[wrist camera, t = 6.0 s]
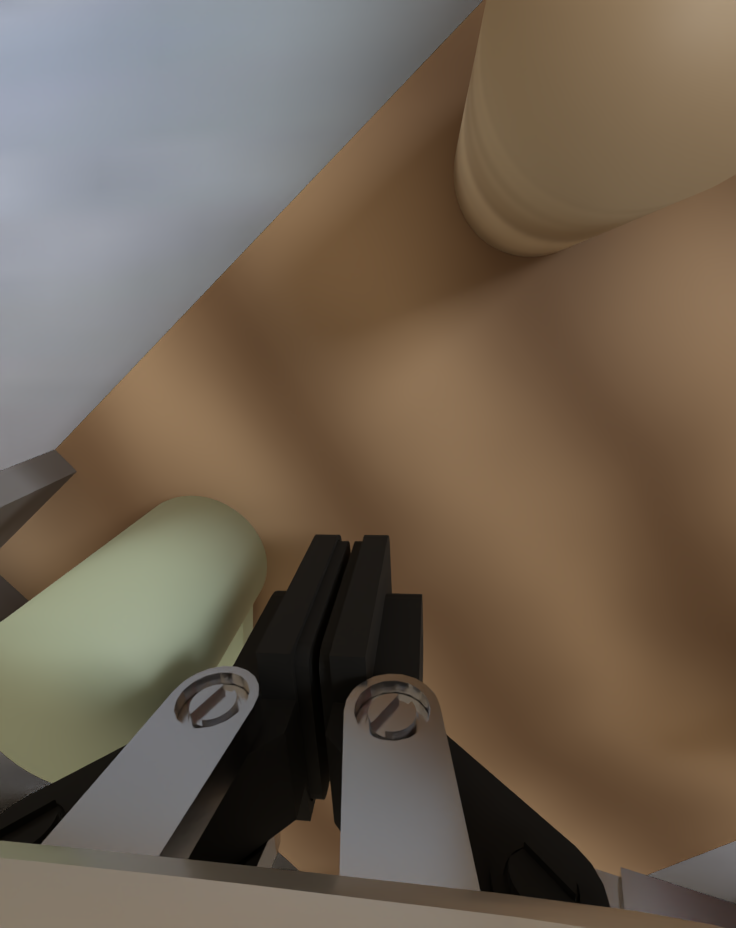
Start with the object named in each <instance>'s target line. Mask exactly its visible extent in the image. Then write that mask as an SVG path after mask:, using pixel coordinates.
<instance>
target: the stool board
mask: <svg viewBox="0 0 736 928" xmlns="http://www.w3.org/2000/svg"><path fill="white" fill-rule="evenodd" d="M181 496H201V497H207V498H211V499H214V500H217V501H219V502H222V503H224V504H226V505H228V506H230V507H231V508H233V509H234V510H236V511H237V512H238V513H240V514H241V515H242V516H243V517H244V518H245V519H246V520H247V521H248V522H249V523H250V524H251V525H252V526H253V528H254V529H255V531H256V532H257V534H258V535H259V537H260V539H261V541H262V543H263V546H264V549H265V553H266V558H267V575H266V579H265V583H264V585H263V588H262V590H261V591H260V593H259V595H258V597H257V598H256V600H255V602H254V604H253V628H254V626H255V625H256V623H257V621H258V619H259V617H260V616H261V614H262V612H263V610H264V608H265V606H266V605H267V603H268V601H269V599H270V597H271V596H272V594H273V593H274V592H275V591H287V589H288V587H289V585H290V583H291V581H292V579H293V577H294V575H295V573H296V571H297V569H298V567H299V565H300V563H301V561H302V559H303V558H304V556H305V554H306V552H307V550H308V548H309V546H310V544H311V542H312V540H313V538H314V536H315V535H316V534H322V535H340V536H341V539H342V541H349V542H350V549H351V551H352V548H353V545H354V542H355V541H363V537H364V535H389V539H390V558H391V582H392V593H400V594H422V600H423V683H424V684H426V685H427V686H428V687H429V688H430V689H431V690H432V691H433V692H434V693H435V695H436V697H437V699H438V702H439V704H440V707H441V712H442V716H443V721H444V726H445V730H446V734H447V735H448V736H449V737H450V738H451V739H452V740H453V741H455V742H456V743H457V744H458V745H459V746H460V747H462V748H463V749H464V750H465V751H466V752H467V753H468V754H470V755H471V756H472V757H473V758H474V759H475V760H477V761H478V762H479V763H480V764H481V765H482V766H484V767H485V768H486V769H487V770H488V771H489V772H490V773H492V774H493V775H494V776H495V777H496V778H497V779H499V780H500V781H501V782H502V783H503V784H504V785H505V786H507V787H508V788H509V789H510V790H511V791H512V792H514V793H515V794H516V795H517V796H518V797H519V798H521V799H522V800H523V801H524V802H525V803H526V804H527V805H529V806H530V807H531V808H532V809H533V810H534V811H536V812H537V813H538V814H539V815H540V816H541V817H542V818H544V819H545V820H546V821H547V822H548V823H549V824H551V825H552V826H553V827H554V828H555V829H556V830H557V831H559V832H560V833H561V834H562V835H563V836H564V837H566V838H567V839H568V840H569V841H570V842H571V843H573V844H574V845H575V846H576V847H577V848H578V849H579V850H580V852H581V853H582V854H583V855H584V856H585V857H586V858H587V859H588V860H589V861H590V862H591V864H592V865H593V867H594V868H595V869H598V870H601V871H604V872H607V873H610V874H613V875H616V876H619V873H620V867H622V868H625V869H629V870H632V871H635V872H638V873H641V874H644V875H649V874H651V873H654V872H656V871H659V870H661V869H664V868H667V867H669V866H672V865H674V864H677V863H679V862H682V861H685V860H687V859H690V858H692V857H695V856H698V855H700V854H703V853H705V852H708V851H710V850H713V849H716V848H718V847H721V846H723V845H726V844H728V843H731V842H734V841H736V0H483V1H482V2H481V3H480V4H479V5H478V6H477V7H476V8H475V9H474V11H473V12H472V13H471V14H470V15H469V16H468V17H467V18H466V19H465V20H464V21H463V22H462V23H461V24H460V25H459V26H458V27H457V28H456V29H455V30H454V32H453V33H452V34H451V35H450V36H449V37H448V38H447V39H446V40H445V41H444V42H443V43H442V44H441V45H440V46H439V47H438V48H437V49H436V50H435V51H434V53H433V54H432V55H431V56H430V57H429V58H428V59H427V60H426V61H425V62H424V63H423V64H422V65H421V66H420V67H419V68H418V69H417V70H416V71H415V72H414V74H413V75H412V76H411V77H410V78H409V79H408V80H407V81H406V82H405V83H404V84H403V85H402V86H401V87H400V88H399V89H398V90H397V91H396V92H395V93H394V95H393V96H392V97H391V98H390V99H389V100H388V101H387V102H386V103H385V104H384V105H383V106H382V107H381V108H380V109H379V110H378V111H377V112H376V113H375V114H374V116H373V117H372V118H371V119H370V120H369V121H368V122H367V123H366V124H365V125H364V126H363V127H362V128H361V129H360V130H359V131H358V132H357V133H356V134H355V135H354V137H353V138H352V139H351V140H350V141H349V142H348V143H347V144H346V145H345V146H344V147H343V148H342V149H341V150H340V151H339V152H338V153H337V154H336V155H335V156H334V158H333V159H332V160H331V161H330V162H329V163H328V164H327V165H326V166H325V167H324V168H323V169H322V170H321V171H320V172H319V173H318V174H317V175H316V176H315V177H314V179H313V180H312V181H311V182H310V183H309V184H308V185H307V186H306V187H305V188H304V189H303V190H302V191H301V192H300V193H299V194H298V195H297V196H296V197H295V198H294V199H293V201H292V202H291V203H290V204H289V205H288V206H287V207H286V208H285V209H284V210H283V211H282V212H281V213H280V214H279V215H278V216H277V217H276V218H275V219H274V220H273V222H272V223H271V224H270V225H269V226H268V227H267V228H266V229H265V230H264V231H263V232H262V233H261V234H260V235H259V236H258V237H257V238H256V239H255V240H254V241H253V243H252V244H251V245H250V246H249V247H248V248H247V249H246V250H245V251H244V252H243V253H242V254H241V255H240V256H239V257H238V258H237V259H236V260H235V261H234V262H233V264H232V265H231V266H230V267H229V268H228V269H227V270H226V271H225V272H224V273H223V274H222V275H221V276H220V277H219V278H218V279H217V280H216V281H215V282H214V283H213V285H212V286H211V287H210V288H209V289H208V290H207V291H206V292H205V293H204V294H203V295H202V296H201V297H200V298H199V299H198V300H197V301H196V302H195V303H194V304H193V306H192V307H191V308H190V309H189V310H188V311H187V312H186V313H185V314H184V315H183V316H182V317H181V318H180V319H179V320H178V321H177V322H176V323H175V324H174V325H173V327H172V328H171V329H170V330H169V331H168V332H167V333H166V334H165V335H164V336H163V337H162V338H161V339H160V340H159V341H158V342H157V343H156V344H155V345H154V346H153V348H152V349H151V350H150V351H149V352H148V353H147V354H146V355H145V356H144V357H143V358H142V359H141V360H140V361H139V362H138V363H137V364H136V365H135V366H134V367H133V369H132V370H131V371H130V372H129V373H128V374H127V375H126V376H125V377H124V378H123V379H122V380H121V381H120V382H119V383H118V384H117V385H116V386H115V387H114V388H113V390H112V391H111V392H110V393H109V394H108V395H107V396H106V397H105V398H104V399H103V400H102V401H101V402H100V403H99V404H98V405H97V406H96V407H95V408H94V409H93V411H92V412H91V413H90V414H89V415H88V416H87V417H86V418H85V419H84V420H83V421H82V422H81V423H80V424H79V425H78V426H77V427H76V428H75V429H74V430H73V432H72V433H71V434H70V435H69V436H68V437H67V438H66V439H65V440H64V441H63V442H62V443H61V444H60V445H59V446H58V447H57V448H56V449H55V450H53V451H50V452H48V453H45V454H43V455H40V456H37V457H35V458H32V459H30V460H27V461H24V462H22V463H19V464H17V465H14V466H11V467H9V468H6V469H4V470H1V471H0V622H1V621H3V620H4V619H6V618H7V617H8V616H10V615H11V614H12V613H14V612H15V611H16V610H18V609H19V608H20V607H22V606H23V605H24V604H26V603H27V602H28V601H30V600H31V599H32V598H34V597H35V596H36V595H38V594H39V593H41V592H42V591H43V590H45V589H46V588H47V587H49V586H50V585H51V584H53V583H54V582H55V581H57V580H58V579H59V578H61V577H62V576H63V575H65V574H66V573H67V572H69V571H70V570H72V569H73V568H74V567H76V566H77V565H78V564H80V563H81V562H82V561H84V560H85V559H86V558H88V557H89V556H90V555H92V554H93V553H94V552H96V551H97V550H98V549H100V548H101V547H103V546H104V545H105V544H107V543H108V542H109V541H111V540H112V539H113V538H115V537H116V536H117V535H119V534H120V533H121V532H123V531H124V530H125V529H127V528H128V527H129V526H131V525H132V524H134V523H135V522H136V521H138V520H139V519H140V518H142V517H143V516H144V515H146V514H147V513H148V512H150V511H151V510H152V509H154V508H155V507H156V506H158V505H159V504H161V503H163V502H165V501H167V500H170V499H172V498H176V497H181ZM340 836H341V831H340V830H339V829H338V827H337V826H336V825H335V823H334V815H333V805H332V795H331V786H330V782H329V787H328V792H327V796H326V798H325V799H324V800H321V799H316V800H315V804H314V808H313V813H312V817H311V821H301V820H295V821H294V822H293V823H291V824H290V825H289V826H287V827H286V828H285V829H283V830H282V831H280V838H281V842H280V845H279V849H278V852H279V853H280V854H281V855H282V856H283V857H285V858H286V859H287V860H288V861H289V862H290V863H291V864H292V865H293V866H295V867H296V868H297V869H298V870H299V871H303V872H313V873H322V874H331V875H339V874H340Z"/></svg>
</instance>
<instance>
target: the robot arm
mask: <svg viewBox="0 0 736 928" xmlns="http://www.w3.org/2000/svg"><path fill="white" fill-rule="evenodd" d="M329 782H330V786H331V795H332V805H333V815H334V823H335V825H336V826H337V827H338V829H339V830H340V831H341V836H340V874H339V875H331V874H322V873H313V872H303V871H294V870H284V869H275V868H272V865H273V863H274V861H275V858H276V856H277V853H278V849H279V845H280V842H281V838H280V831H282V830H283V829H285V828H286V827H287V826H289V825H290V824H291V823H293V822H294V821H295V820H301V821H311V817H312V813H313V808H314V804H315V800H316V799H321V800H324V799H325V798H326V796H327V792H328V787H329ZM0 928H736V904H734V903H731V902H728V901H725V900H722V899H719V898H716V897H712V896H709V895H706V894H703V893H700V892H697V891H694V890H691V889H688V888H684V887H681V886H678V885H675V884H672V883H669V882H666V881H663V880H660V879H657V878H653V877H650V876H647V875H644V874H641V873H638V872H635V871H632V870H629V869H625V868H622V867H620V873H619V876H616V875H613V874H610V873H607V872H604V871H601V870H598V869H595V868H594V867H593V865H592V864H591V862H590V861H589V860H588V859H587V858H586V857H585V856H584V855H583V854H582V853H581V852H580V850H579V849H578V848H577V847H576V846H575V845H574V844H573V843H571V842H570V841H569V840H568V839H567V838H566V837H564V836H563V835H562V834H561V833H560V832H559V831H557V830H556V829H555V828H554V827H553V826H552V825H551V824H549V823H548V822H547V821H546V820H545V819H544V818H542V817H541V816H540V815H539V814H538V813H537V812H536V811H534V810H533V809H532V808H531V807H530V806H529V805H527V804H526V803H525V802H524V801H523V800H522V799H521V798H519V797H518V796H517V795H516V794H515V793H514V792H512V791H511V790H510V789H509V788H508V787H507V786H505V785H504V784H503V783H502V782H501V781H500V780H499V779H497V778H496V777H495V776H494V775H493V774H492V773H490V772H489V771H488V770H487V769H486V768H485V767H484V766H482V765H481V764H480V763H479V762H478V761H477V760H475V759H474V758H473V757H472V756H471V755H470V754H468V753H467V752H466V751H465V750H464V749H463V748H462V747H460V746H459V745H458V744H457V743H456V742H455V741H453V740H452V739H451V738H450V737H449V736H448V735H447V734H446V730H445V726H444V721H443V716H442V712H441V707H440V704H439V702H438V699H437V697H436V695H435V693H434V692H433V691H432V690H431V689H430V688H429V687H428V686H427V685H426V684H424V683H423V600H422V594H400V593H392V582H391V558H390V539H389V535H364V537H363V541H355V542H354V545H353V548H352V551H351V549H350V542H349V541H342V539H341V536H340V535H322V534H316V535H315V536H314V538H313V540H312V542H311V544H310V546H309V548H308V550H307V552H306V554H305V556H304V558H303V559H302V561H301V563H300V565H299V567H298V569H297V571H296V573H295V575H294V577H293V579H292V581H291V583H290V585H289V587H288V589H287V591H275V592H274V593H273V594H272V596H271V597H270V599H269V601H268V603H267V605H266V606H265V608H264V610H263V612H262V614H261V616H260V617H259V619H258V621H257V623H256V625H255V626H254V628H253V630H252V632H251V634H250V636H249V637H248V639H247V641H246V643H245V645H244V646H243V648H242V650H241V652H240V654H239V656H238V657H237V659H236V661H235V663H234V665H233V666H221V667H215V668H210V669H207V670H205V671H202V672H199V673H197V674H195V675H193V676H192V677H190V678H188V679H187V680H185V681H184V682H182V683H181V684H180V685H179V686H178V687H177V688H176V689H175V690H174V691H173V692H172V693H171V694H170V695H169V696H168V698H167V699H166V700H165V701H164V702H163V703H162V705H161V706H160V707H159V708H158V709H157V710H156V712H155V713H154V714H153V715H152V716H151V717H150V718H149V720H148V721H147V722H146V723H145V724H144V725H143V727H142V728H141V729H140V730H139V731H138V732H137V733H136V735H135V736H134V737H133V738H132V739H131V740H130V742H129V743H128V744H127V745H125V746H123V747H121V748H119V749H117V750H115V751H113V752H111V753H109V754H108V755H106V756H104V757H102V758H100V759H98V760H96V761H94V762H92V763H90V764H88V765H86V766H84V767H83V768H81V769H79V770H77V771H75V772H73V773H71V774H69V775H67V776H65V777H63V778H61V779H60V780H58V781H56V782H54V783H52V784H50V785H48V786H46V787H44V788H42V789H40V790H38V791H37V792H35V793H33V794H31V795H29V796H27V797H25V798H24V799H22V800H21V801H19V802H17V803H16V804H14V805H13V806H11V807H9V808H8V809H7V810H5V811H4V812H3V813H2V814H1V815H0Z"/></svg>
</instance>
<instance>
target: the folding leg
mask: <svg viewBox="0 0 736 928" xmlns="http://www.w3.org/2000/svg"><path fill="white" fill-rule="evenodd" d="M266 575H267V558H266V553H265V549H264V546H263V543H262V541H261V539H260V537H259V535H258V534H257V532H256V531H255V529H254V528H253V526H252V525H251V524H250V523H249V522H248V521H247V520H246V519H245V518H244V517H243V516H242V515H241V514H240V513H238V512H237V511H236V510H234V509H233V508H231V507H230V506H228V505H226V504H224V503H222V502H219V501H217V500H214V499H211V498H207V497H201V496H181V497H176V498H172V499H170V500H167V501H165V502H163V503H161V504H159V505H158V506H156V507H155V508H154V509H152V510H151V511H150V512H148V513H147V514H146V515H144V516H143V517H142V518H140V519H139V520H138V521H136V522H135V523H134V524H132V525H131V526H129V527H128V528H127V529H125V530H124V531H123V532H121V533H120V534H119V535H117V536H116V537H115V538H113V539H112V540H111V541H109V542H108V543H107V544H105V545H104V546H103V547H101V548H100V549H98V550H97V551H96V552H94V553H93V554H92V555H90V556H89V557H88V558H86V559H85V560H84V561H82V562H81V563H80V564H78V565H77V566H76V567H74V568H73V569H72V570H70V571H69V572H67V573H66V574H65V575H63V576H62V577H61V578H59V579H58V580H57V581H55V582H54V583H53V584H51V585H50V586H49V587H47V588H46V589H45V590H43V591H42V592H41V593H39V594H38V595H36V596H35V597H34V598H32V599H31V600H30V601H28V602H27V603H26V604H24V605H23V606H22V607H20V608H19V609H18V610H16V611H15V612H14V613H12V614H11V615H10V616H8V617H7V618H6V619H4V620H3V621H1V622H0V751H1V752H2V753H3V754H4V755H5V756H6V757H8V758H9V759H10V760H12V761H13V762H14V763H15V764H17V765H18V766H20V767H21V768H23V769H24V770H26V771H28V772H29V773H31V774H33V775H35V776H37V777H39V778H41V779H43V780H45V781H48V782H50V783H54V782H56V781H58V780H60V779H61V778H63V777H65V776H67V775H69V774H71V773H73V772H75V771H77V770H79V769H81V768H83V767H84V766H86V765H88V764H90V763H92V762H94V761H96V760H98V759H100V758H102V757H104V756H106V755H108V754H109V753H111V752H113V751H115V750H117V749H119V748H121V747H123V746H125V745H127V744H128V743H129V742H130V740H131V739H132V738H133V737H134V736H135V735H136V733H137V732H138V731H139V730H140V729H141V728H142V727H143V725H144V724H145V723H146V722H147V721H148V720H149V718H150V717H151V716H152V715H153V714H154V713H155V712H156V710H157V709H158V708H159V707H160V706H161V705H162V703H163V702H164V701H165V700H166V699H167V698H168V696H169V695H170V694H171V693H172V692H173V691H174V690H175V689H176V688H177V687H178V686H179V685H180V684H181V683H182V682H184V681H185V680H187V679H188V678H190V677H192V676H193V675H195V674H197V673H199V672H202V671H205V670H207V669H210V668H215V667H221V666H233V665H234V663H235V661H236V659H237V657H238V656H239V654H240V652H241V650H242V648H243V646H244V645H245V643H246V641H247V639H248V637H249V636H250V634H251V632H252V630H253V604H254V602H255V600H256V598H257V597H258V595H259V593H260V591H261V590H262V588H263V585H264V583H265V579H266Z"/></svg>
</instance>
